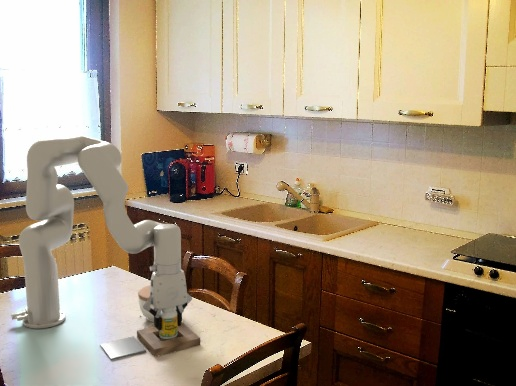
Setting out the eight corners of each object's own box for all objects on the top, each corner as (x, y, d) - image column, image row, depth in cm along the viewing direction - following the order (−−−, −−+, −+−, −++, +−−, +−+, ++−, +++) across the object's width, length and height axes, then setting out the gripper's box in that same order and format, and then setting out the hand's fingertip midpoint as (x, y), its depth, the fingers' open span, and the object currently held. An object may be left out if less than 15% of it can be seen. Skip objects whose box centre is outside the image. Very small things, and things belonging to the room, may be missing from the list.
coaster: (111, 360, 154) (110, 358, 154) (100, 346, 162) (100, 344, 162) (146, 351, 159) (145, 349, 159) (133, 338, 168) (133, 336, 168)
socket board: (154, 356, 157) (154, 349, 156) (137, 337, 168) (136, 330, 168) (200, 345, 164) (200, 338, 163) (180, 327, 175) (180, 320, 175)
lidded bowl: (159, 307, 191) (158, 275, 189) (186, 316, 184) (186, 283, 182) (130, 319, 181) (129, 286, 179) (158, 329, 174) (158, 295, 171)
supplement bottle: (172, 330, 170) (172, 299, 168) (180, 336, 165) (180, 306, 163) (156, 334, 167) (155, 303, 165) (163, 341, 162) (163, 309, 160)
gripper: (143, 276, 154) (145, 338, 158) (200, 266, 163) (200, 325, 167) (134, 268, 160) (135, 327, 164) (189, 259, 169) (189, 316, 173)
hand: (168, 325), depth 165 cm, fingers closed on supplement bottle, 5 cm apart
